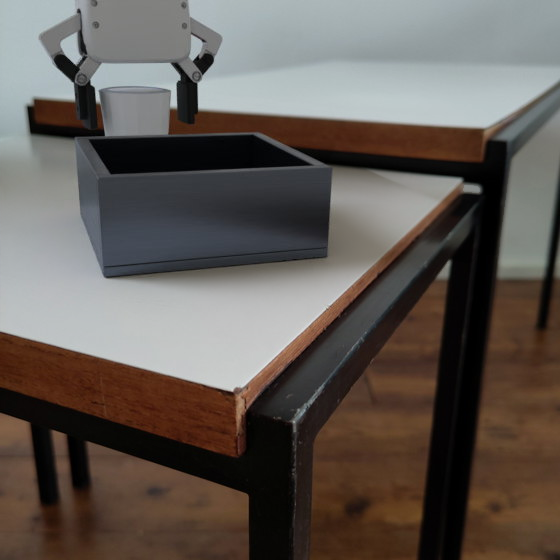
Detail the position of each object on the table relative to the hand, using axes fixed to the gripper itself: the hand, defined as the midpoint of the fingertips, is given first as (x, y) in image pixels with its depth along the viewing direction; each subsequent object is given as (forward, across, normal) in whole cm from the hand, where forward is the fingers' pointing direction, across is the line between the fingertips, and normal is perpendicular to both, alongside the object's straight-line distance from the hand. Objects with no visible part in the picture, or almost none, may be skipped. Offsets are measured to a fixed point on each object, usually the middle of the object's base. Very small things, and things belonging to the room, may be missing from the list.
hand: (139, 125), depth 68 cm
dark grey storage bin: (+4, +4, +25) cm, 26 cm away
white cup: (+4, 0, 0) cm, 4 cm away
